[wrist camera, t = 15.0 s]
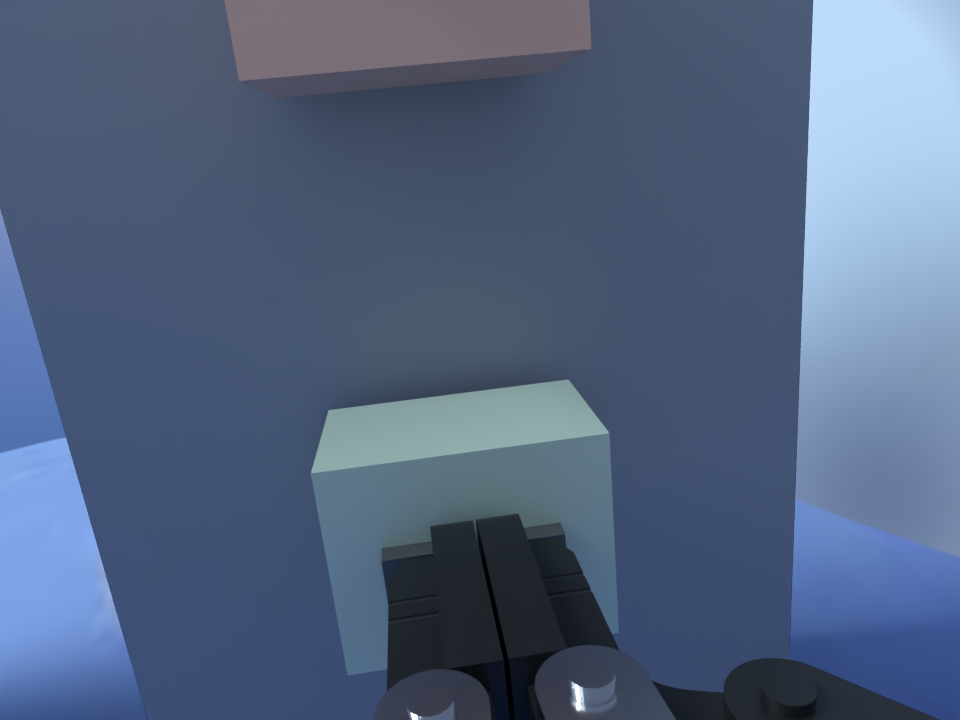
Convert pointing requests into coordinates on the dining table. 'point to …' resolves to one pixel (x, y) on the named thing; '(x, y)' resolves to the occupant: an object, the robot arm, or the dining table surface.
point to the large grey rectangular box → (410, 313)
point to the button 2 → (457, 491)
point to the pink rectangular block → (399, 42)
